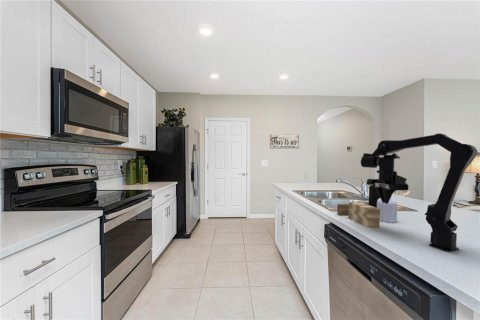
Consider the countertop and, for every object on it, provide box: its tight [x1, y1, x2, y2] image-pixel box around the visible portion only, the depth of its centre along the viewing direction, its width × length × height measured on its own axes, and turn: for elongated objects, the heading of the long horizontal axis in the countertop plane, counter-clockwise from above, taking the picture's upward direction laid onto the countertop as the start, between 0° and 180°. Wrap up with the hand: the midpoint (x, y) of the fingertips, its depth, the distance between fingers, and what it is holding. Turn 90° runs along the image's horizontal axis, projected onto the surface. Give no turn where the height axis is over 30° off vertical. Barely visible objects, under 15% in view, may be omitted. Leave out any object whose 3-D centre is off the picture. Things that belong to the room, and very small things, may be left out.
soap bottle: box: [377, 197, 398, 224], centre depth 122 cm, size 9×9×25 cm
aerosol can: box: [368, 184, 380, 208], centre depth 134 cm, size 8×8×20 cm
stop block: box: [336, 203, 349, 217], centre depth 132 cm, size 3×10×6 cm, turn 96°
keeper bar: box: [347, 201, 381, 229], centre depth 117 cm, size 16×6×9 cm, turn 6°
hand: (385, 203), depth 103 cm, fingers closed
